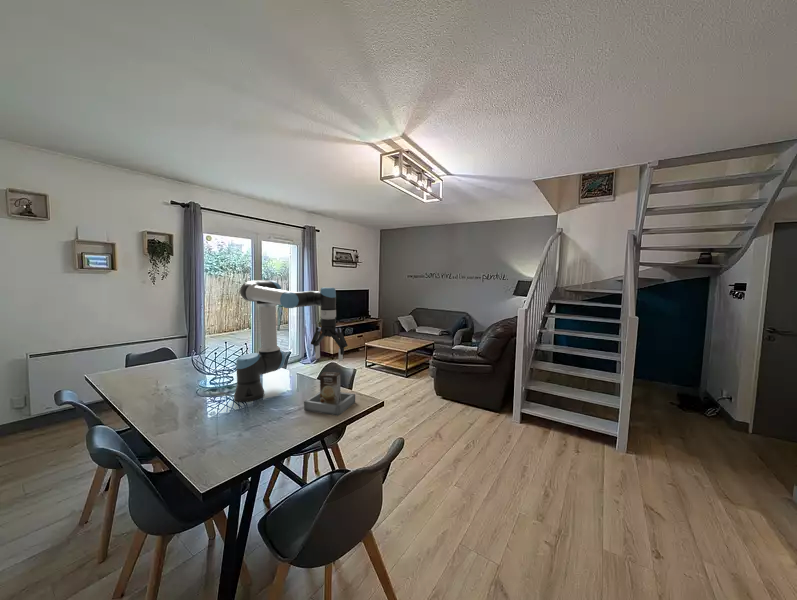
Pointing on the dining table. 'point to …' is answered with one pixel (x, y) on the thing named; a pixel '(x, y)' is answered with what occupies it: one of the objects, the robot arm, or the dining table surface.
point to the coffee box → (330, 388)
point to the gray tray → (317, 406)
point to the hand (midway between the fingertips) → (329, 359)
